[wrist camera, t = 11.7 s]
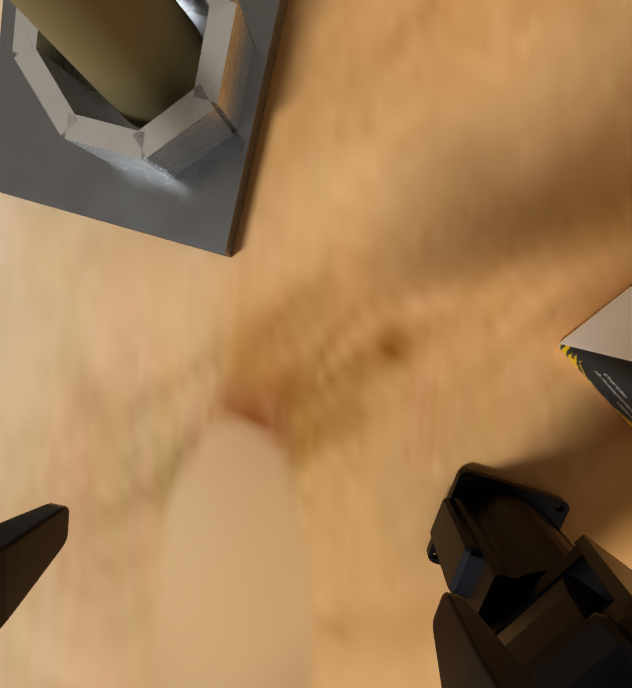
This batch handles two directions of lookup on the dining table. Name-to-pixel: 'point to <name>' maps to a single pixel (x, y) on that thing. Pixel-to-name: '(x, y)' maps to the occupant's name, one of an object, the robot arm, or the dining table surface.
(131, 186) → the socket block
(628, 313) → the medicine bottle
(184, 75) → the cork
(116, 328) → the dining table surface
